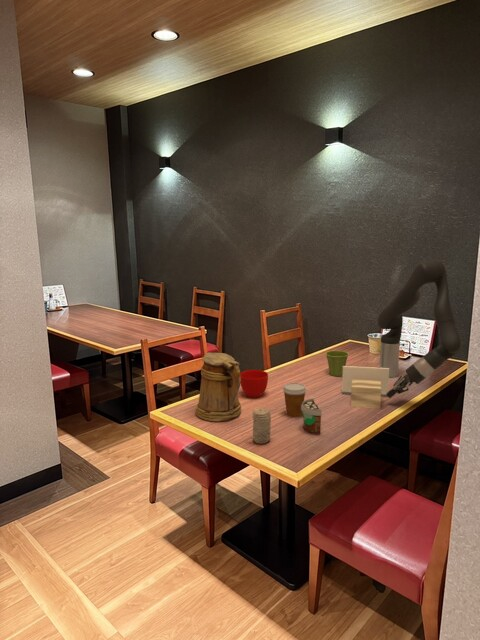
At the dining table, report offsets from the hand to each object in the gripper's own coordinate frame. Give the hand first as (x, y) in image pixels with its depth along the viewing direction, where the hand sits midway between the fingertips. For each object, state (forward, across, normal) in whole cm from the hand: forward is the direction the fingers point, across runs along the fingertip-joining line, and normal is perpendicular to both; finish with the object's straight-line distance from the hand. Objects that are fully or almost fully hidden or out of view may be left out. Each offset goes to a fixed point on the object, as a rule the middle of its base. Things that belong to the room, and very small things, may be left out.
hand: (387, 396), depth 196 cm
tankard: (+50, +23, -45) cm, 71 cm away
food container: (+25, +30, -19) cm, 43 cm away
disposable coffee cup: (+30, +17, -24) cm, 42 cm away
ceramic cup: (+44, -3, -38) cm, 58 cm away
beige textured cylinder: (+36, +43, -30) cm, 64 cm away
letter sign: (+9, -12, -4) cm, 16 cm away
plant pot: (+18, -37, -13) cm, 43 cm away
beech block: (+9, 0, -4) cm, 10 cm away
